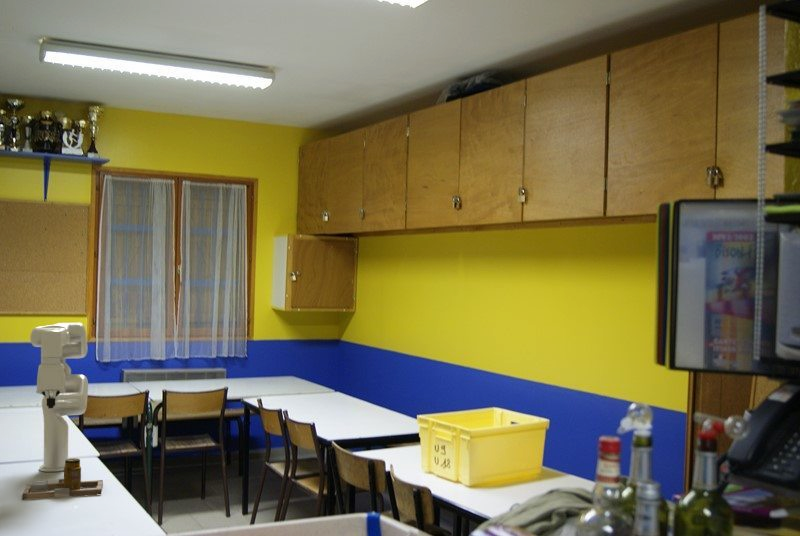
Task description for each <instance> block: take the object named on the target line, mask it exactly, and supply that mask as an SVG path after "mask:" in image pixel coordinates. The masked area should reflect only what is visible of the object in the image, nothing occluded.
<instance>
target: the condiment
mask: <svg viewBox="0 0 800 536" xmlns="http://www.w3.org/2000/svg"><path fill="white" fill-rule="evenodd" d="M63 479H64V488H69V490H80V488H81V481H82V467H81V459H80V458H74V457H72V458H71V457H70V458H68V459H67V460H65V467H64V471H63Z"/></svg>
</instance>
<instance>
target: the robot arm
mask: <svg viewBox="0 0 800 536" xmlns="http://www.w3.org/2000/svg"><path fill="white" fill-rule="evenodd" d="M87 336H88V335H87V330H86V328H85V326H84V324H83V323H81V322H57V323H54V324H50V325H49V324H48V325H45V326H44V325H43V326H36V327H34V328H33V329H32V330H31V332H30V344H31V345H32V346H33V347H35V348H40V364H39V365H38V369H37V370H38V371H37V379H36V392H35V393H36V394H39V395H42V396H43V398H42V399H41V400H42V401H41V408H42V409H41V411H42V414H43V464H41V465H39V471H41V472H44V473H45V472H46V473H48V472H49V473H53V472H54V473H55V472H56V473H57V472H62V471H63V472H64V467H65V460H67V459H69V425H68V422H67V421H66V419H64V416H81V415H83V414H85V413H86V410H87V405H88V396H89V395H88V393H89V381H88V378H87V376H86V375H84V374H82V373H81V374H80V373H79V374H77V373H76V374H73V373H72V369H71V367H70V366H69V365H68V363H67V359H83V358H85V357H86V356H87V354H88V349H89V348H88V337H87Z"/></svg>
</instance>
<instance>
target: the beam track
mask: <svg viewBox="0 0 800 536" xmlns="http://www.w3.org/2000/svg"><path fill="white" fill-rule="evenodd" d="M96 486H97V487H96ZM103 486H104V481H103V479H98V480H97V479H96V480H83V481H82V480H81V487H83V488H85V489H83V488H82V489H80V490H69V488H64V478H58V482H51V483H50V482H49V483H48V480H44V481H32V483H30V484H26V487H25V488H24V490H23V491H22V495H21V498H22V499H21V500H24V501H26V500H37V499H38V500H40V499H52V498H53V499H66V498H65V497H68V498H70V497H83V496H85V495H88V496H98V495H97V494H101V495H102V492H103V491H102V490H103ZM49 489H51V490H50V491H49ZM52 490H53V491H52ZM85 497H86V496H85Z"/></svg>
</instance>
